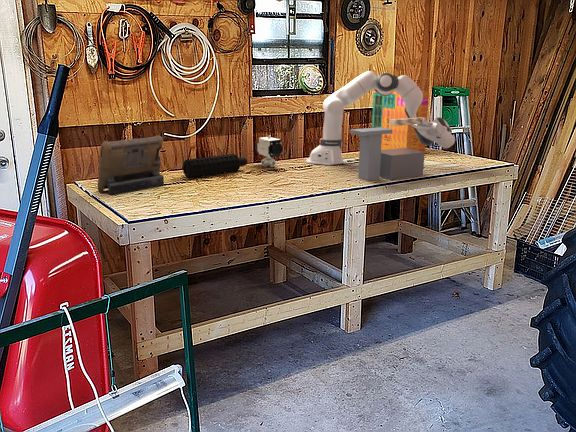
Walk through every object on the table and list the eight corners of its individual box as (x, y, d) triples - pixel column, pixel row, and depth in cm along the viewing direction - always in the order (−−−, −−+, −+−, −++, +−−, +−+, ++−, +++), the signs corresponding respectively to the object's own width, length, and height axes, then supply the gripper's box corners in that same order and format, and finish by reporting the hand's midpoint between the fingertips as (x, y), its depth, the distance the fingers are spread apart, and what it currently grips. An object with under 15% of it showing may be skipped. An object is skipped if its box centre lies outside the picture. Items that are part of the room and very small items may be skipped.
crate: (403, 170, 323) (404, 147, 319) (422, 175, 310) (424, 152, 306) (371, 174, 312) (372, 150, 308) (390, 179, 299) (391, 155, 295)
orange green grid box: (370, 147, 399) (373, 89, 388) (389, 145, 409) (392, 89, 398) (405, 154, 372) (409, 92, 361) (424, 152, 382) (429, 91, 371)
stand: (377, 175, 310) (380, 127, 303) (389, 178, 302) (392, 129, 295) (347, 178, 301) (349, 129, 293) (359, 182, 292) (361, 131, 285)
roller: (239, 165, 326) (242, 149, 321) (249, 173, 319) (252, 157, 314) (180, 173, 303) (182, 156, 298) (189, 182, 296) (191, 165, 292)
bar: (420, 122, 313) (421, 117, 312) (426, 123, 310) (426, 117, 309) (389, 125, 302) (390, 119, 301) (394, 125, 299) (395, 120, 298)
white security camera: (254, 164, 336) (254, 134, 331) (266, 162, 341) (266, 133, 336) (270, 169, 322) (270, 138, 317) (283, 167, 327) (283, 137, 322)
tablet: (151, 181, 291) (148, 132, 284) (168, 185, 283) (166, 135, 276) (95, 192, 267) (90, 139, 260) (112, 197, 259) (108, 142, 252)
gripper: (423, 124, 325) (408, 112, 317) (449, 128, 308) (434, 116, 300) (418, 134, 325) (403, 123, 317) (444, 138, 308) (429, 127, 300)
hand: (418, 119), depth 309 cm, fingers closed on bar, 4 cm apart
